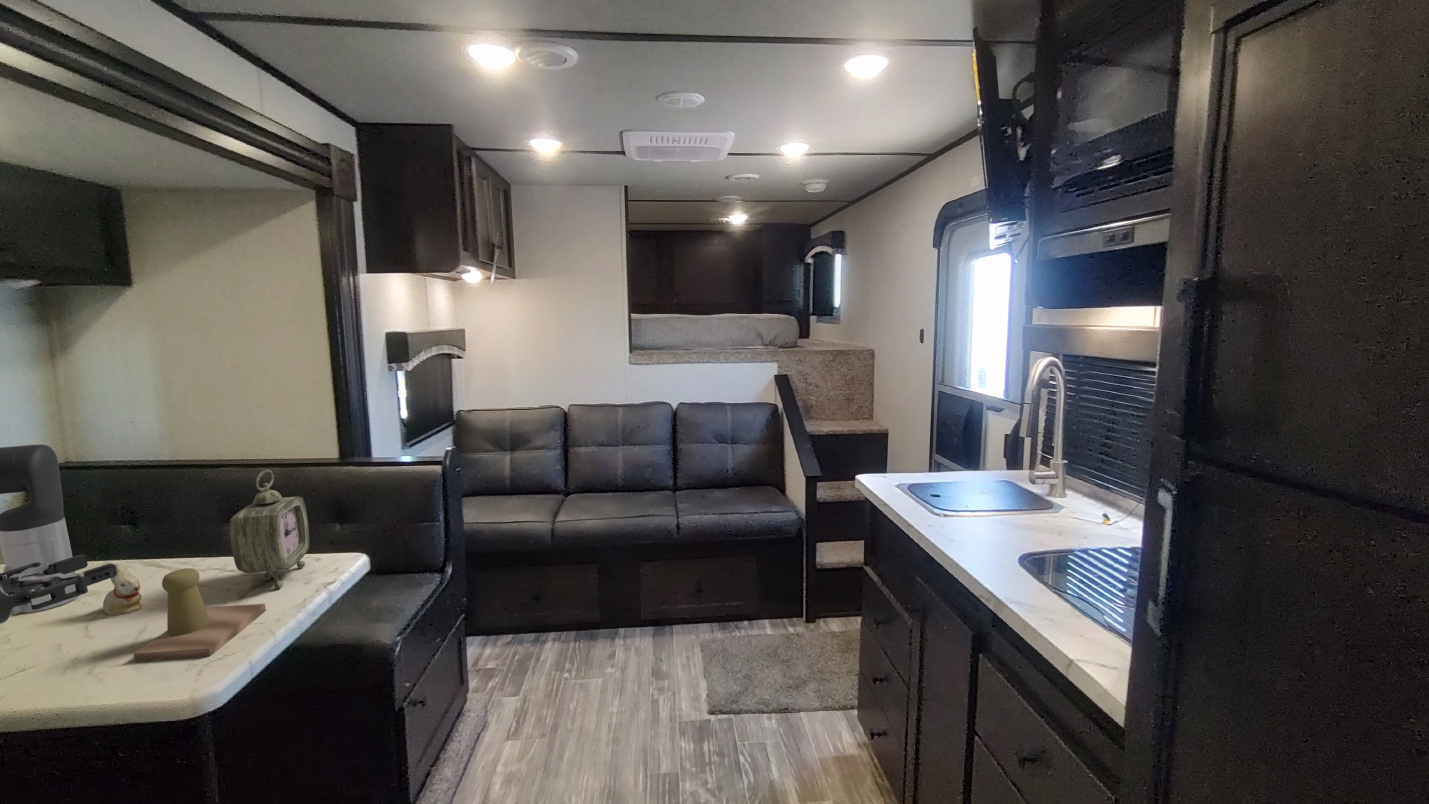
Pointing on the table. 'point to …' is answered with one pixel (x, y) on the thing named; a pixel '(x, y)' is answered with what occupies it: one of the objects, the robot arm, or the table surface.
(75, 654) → the table surface
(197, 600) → the cork
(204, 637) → the walnut board
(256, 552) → the tabletop clock
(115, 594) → the chocolate bunny
